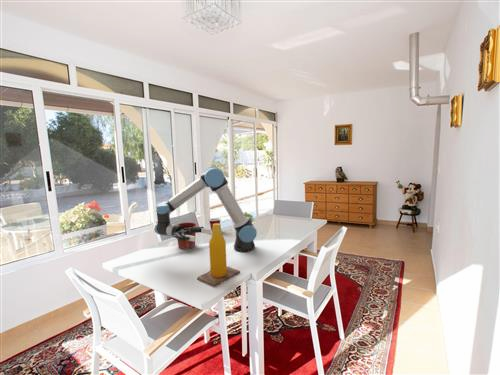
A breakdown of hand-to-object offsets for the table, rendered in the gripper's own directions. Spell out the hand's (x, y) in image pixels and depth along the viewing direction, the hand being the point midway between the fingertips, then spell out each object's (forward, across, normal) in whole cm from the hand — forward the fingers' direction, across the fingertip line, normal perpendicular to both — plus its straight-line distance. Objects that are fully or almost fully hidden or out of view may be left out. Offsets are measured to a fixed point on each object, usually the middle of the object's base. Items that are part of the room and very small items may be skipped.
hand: (202, 235), depth 151 cm
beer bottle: (+10, 0, -22) cm, 24 cm away
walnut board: (+10, 0, -23) cm, 25 cm away
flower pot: (-40, -28, -23) cm, 54 cm away
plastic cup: (-42, -64, -23) cm, 80 cm away
